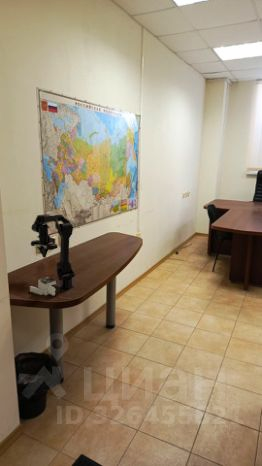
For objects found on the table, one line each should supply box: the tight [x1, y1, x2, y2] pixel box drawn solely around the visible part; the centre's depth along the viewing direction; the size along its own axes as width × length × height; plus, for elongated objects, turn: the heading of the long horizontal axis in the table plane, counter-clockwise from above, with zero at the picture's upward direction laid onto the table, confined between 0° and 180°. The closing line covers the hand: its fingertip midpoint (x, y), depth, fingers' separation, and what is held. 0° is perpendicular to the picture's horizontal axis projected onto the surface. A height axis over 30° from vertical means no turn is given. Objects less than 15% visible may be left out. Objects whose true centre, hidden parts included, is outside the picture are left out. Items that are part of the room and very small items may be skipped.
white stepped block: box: [37, 276, 61, 297], centre depth 179 cm, size 7×7×12 cm
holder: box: [29, 286, 44, 296], centre depth 184 cm, size 9×12×3 cm
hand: (44, 257), depth 203 cm, fingers closed
